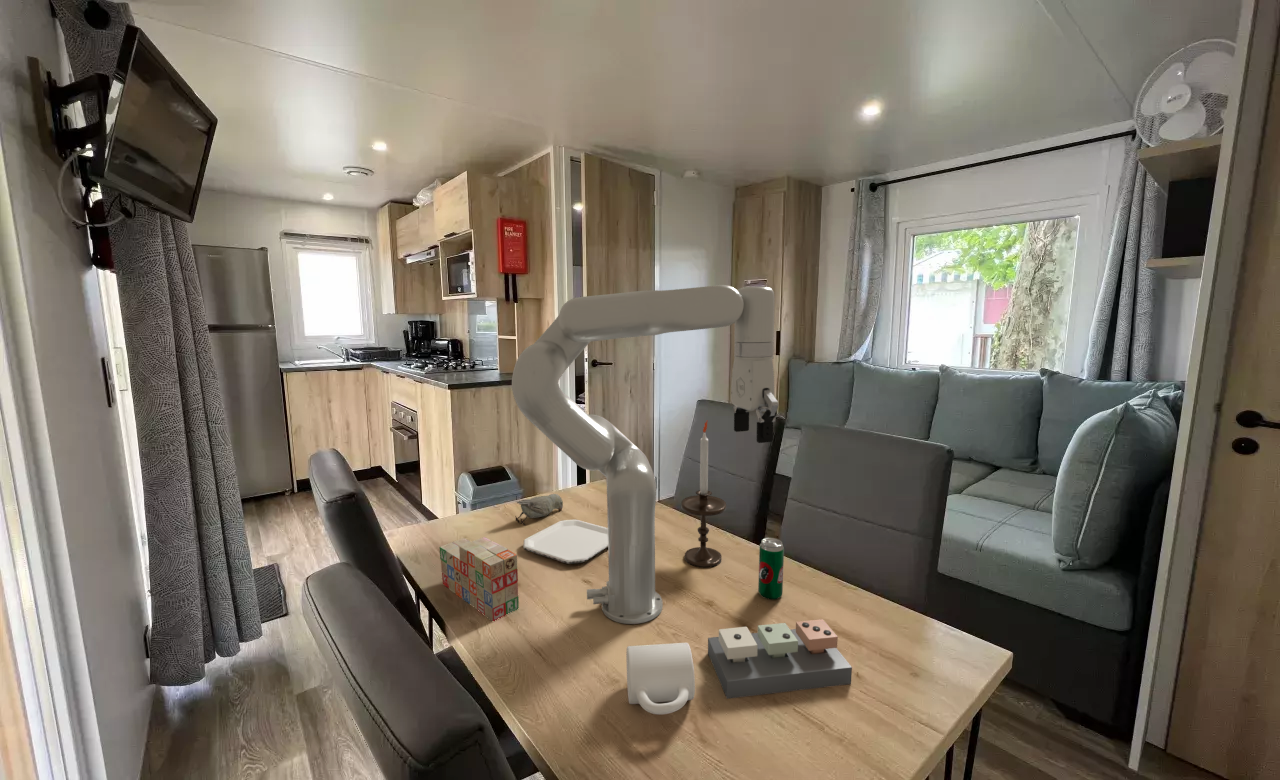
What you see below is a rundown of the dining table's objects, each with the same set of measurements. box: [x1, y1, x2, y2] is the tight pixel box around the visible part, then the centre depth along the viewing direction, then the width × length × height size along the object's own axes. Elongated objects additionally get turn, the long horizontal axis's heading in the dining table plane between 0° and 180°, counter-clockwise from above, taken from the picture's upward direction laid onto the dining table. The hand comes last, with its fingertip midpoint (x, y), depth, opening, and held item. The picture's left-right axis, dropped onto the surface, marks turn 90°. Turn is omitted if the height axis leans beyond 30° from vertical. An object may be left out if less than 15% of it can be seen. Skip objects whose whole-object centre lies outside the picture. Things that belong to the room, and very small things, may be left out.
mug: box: [625, 642, 696, 715], centre depth 79 cm, size 12×10×8 cm
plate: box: [523, 518, 608, 565], centre depth 134 cm, size 21×21×2 cm
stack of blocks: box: [439, 536, 520, 622], centre depth 109 cm, size 21×6×12 cm, turn 48°
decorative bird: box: [514, 493, 564, 526], centre depth 152 cm, size 5×16×7 cm, turn 137°
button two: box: [757, 622, 798, 659], centre depth 86 cm, size 5×5×5 cm
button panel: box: [707, 628, 853, 699], centre depth 87 cm, size 21×11×3 cm, turn 98°
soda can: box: [757, 537, 785, 601], centre depth 109 cm, size 5×5×12 cm
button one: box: [718, 626, 757, 663], centre depth 85 cm, size 5×5×5 cm
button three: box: [795, 618, 839, 654], centre depth 87 cm, size 5×5×5 cm
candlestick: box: [680, 421, 727, 569], centre depth 123 cm, size 11×11×35 cm
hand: (752, 436), depth 102 cm, fingers open, 9 cm apart
